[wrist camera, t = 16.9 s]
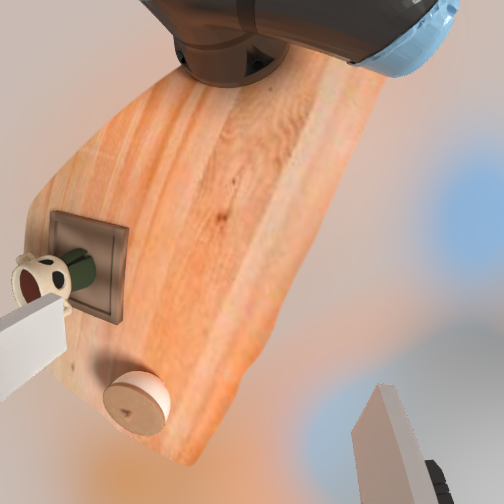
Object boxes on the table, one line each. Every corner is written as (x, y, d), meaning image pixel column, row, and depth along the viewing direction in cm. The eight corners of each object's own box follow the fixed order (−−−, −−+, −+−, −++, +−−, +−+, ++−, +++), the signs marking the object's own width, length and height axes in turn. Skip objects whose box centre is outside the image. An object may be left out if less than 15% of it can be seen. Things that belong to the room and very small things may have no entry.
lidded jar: (113, 371, 47) (86, 400, 38) (151, 351, 45) (124, 383, 35) (150, 414, 48) (129, 446, 39) (191, 399, 46) (173, 436, 37)
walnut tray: (57, 210, 42) (50, 211, 40) (129, 227, 41) (122, 229, 39) (56, 293, 45) (49, 296, 44) (122, 320, 44) (117, 325, 42)
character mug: (116, 277, 41) (60, 309, 29) (95, 305, 43) (43, 339, 31) (73, 226, 41) (12, 241, 28) (55, 256, 43) (-1, 277, 30)
